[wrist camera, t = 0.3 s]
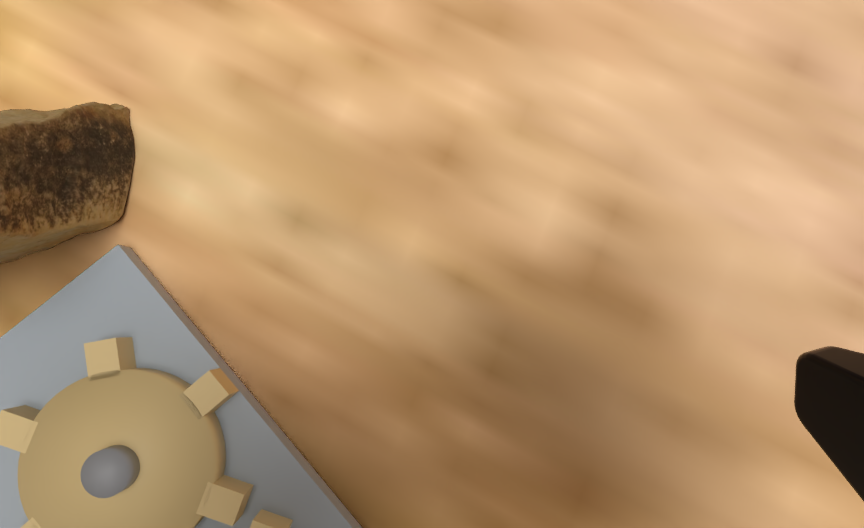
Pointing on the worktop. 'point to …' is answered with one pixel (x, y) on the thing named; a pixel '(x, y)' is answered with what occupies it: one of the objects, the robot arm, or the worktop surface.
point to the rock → (61, 174)
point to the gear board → (140, 420)
